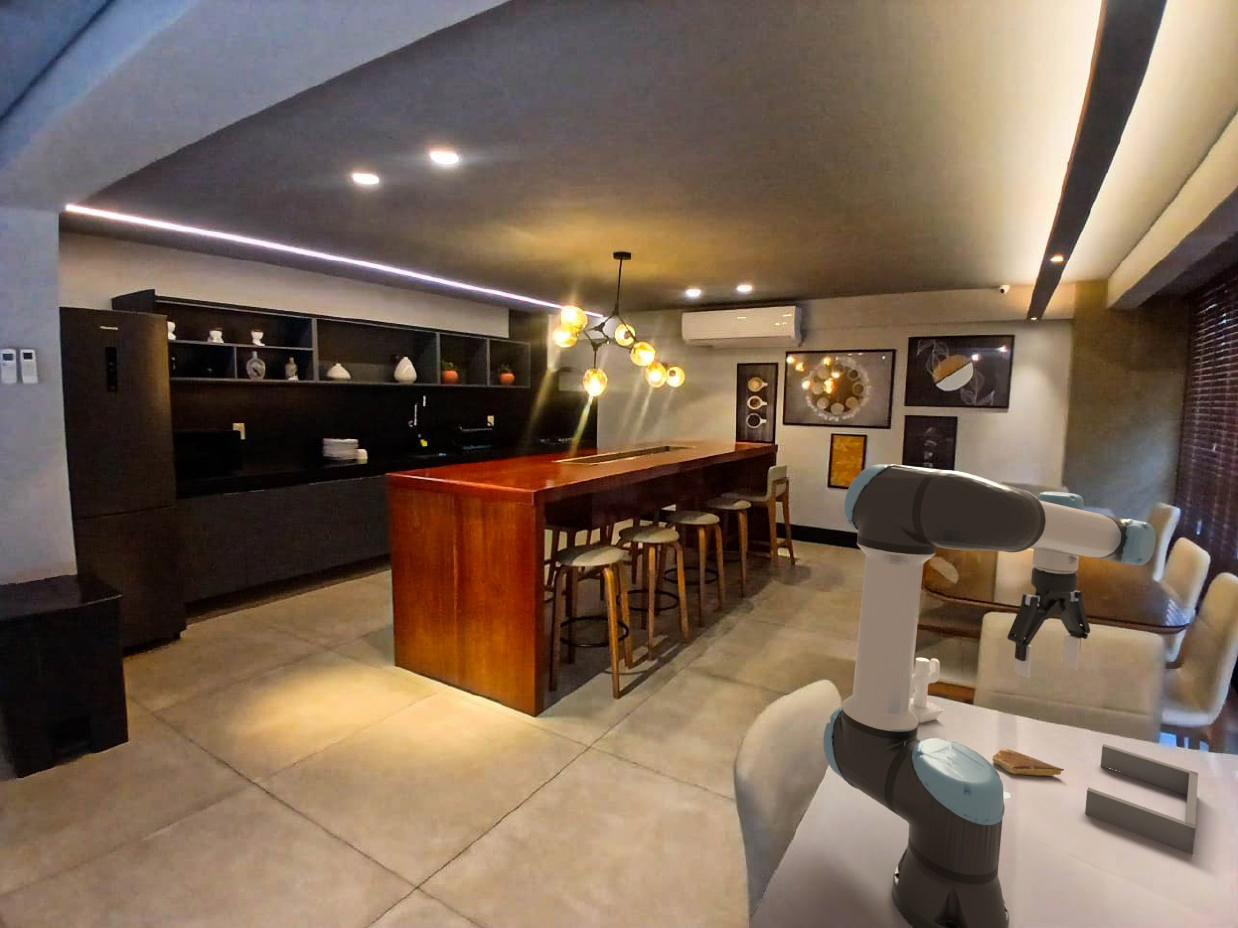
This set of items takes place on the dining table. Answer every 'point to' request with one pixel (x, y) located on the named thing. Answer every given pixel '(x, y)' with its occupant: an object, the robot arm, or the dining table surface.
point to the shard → (1023, 764)
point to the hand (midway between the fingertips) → (1046, 671)
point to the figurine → (924, 690)
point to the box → (1139, 816)
